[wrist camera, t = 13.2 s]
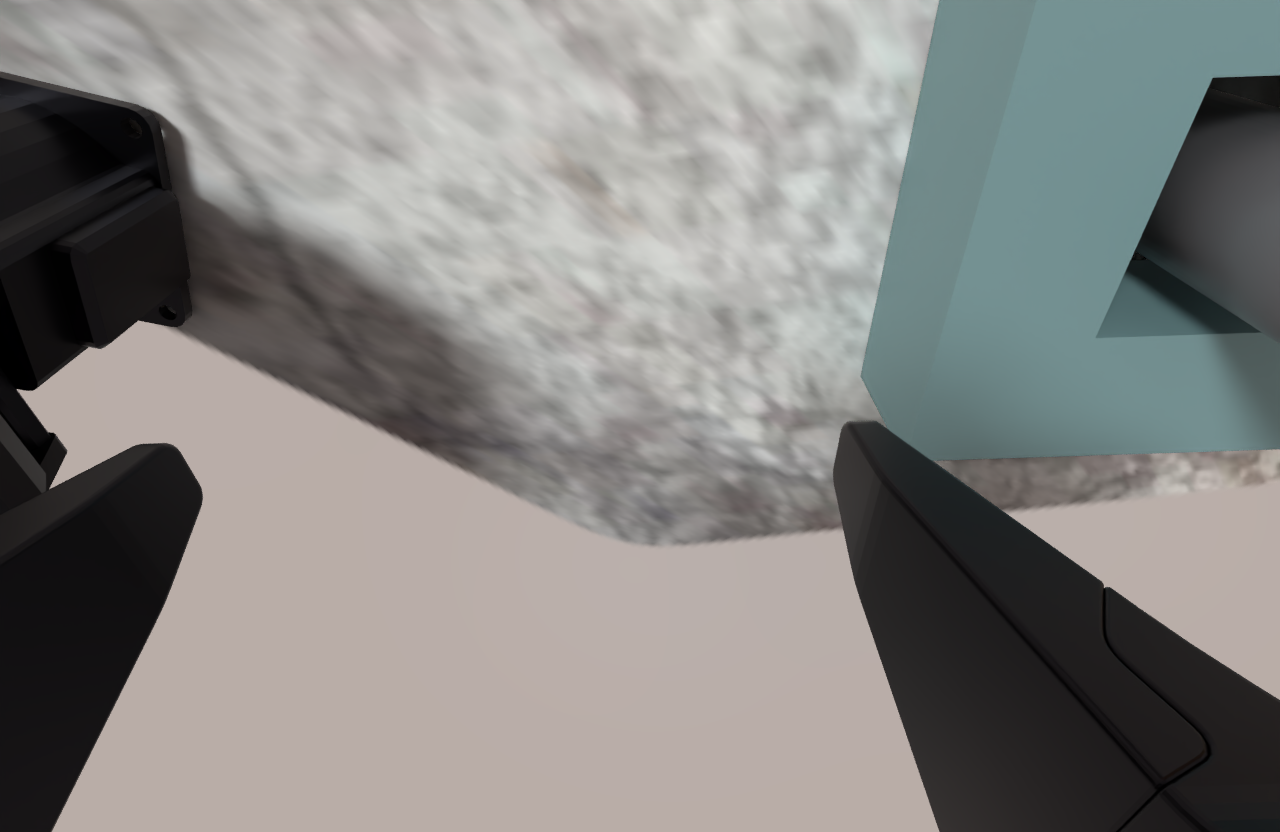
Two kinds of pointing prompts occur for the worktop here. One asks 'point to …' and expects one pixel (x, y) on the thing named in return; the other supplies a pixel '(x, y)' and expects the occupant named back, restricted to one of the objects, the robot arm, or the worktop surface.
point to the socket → (1063, 239)
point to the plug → (1224, 210)
